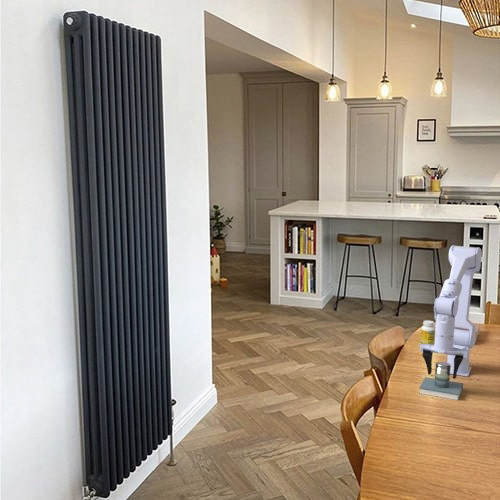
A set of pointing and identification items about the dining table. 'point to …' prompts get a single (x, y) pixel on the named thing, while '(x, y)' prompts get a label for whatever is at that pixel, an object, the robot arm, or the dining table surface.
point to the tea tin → (442, 374)
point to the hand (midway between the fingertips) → (442, 375)
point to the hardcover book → (441, 389)
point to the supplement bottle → (428, 333)
